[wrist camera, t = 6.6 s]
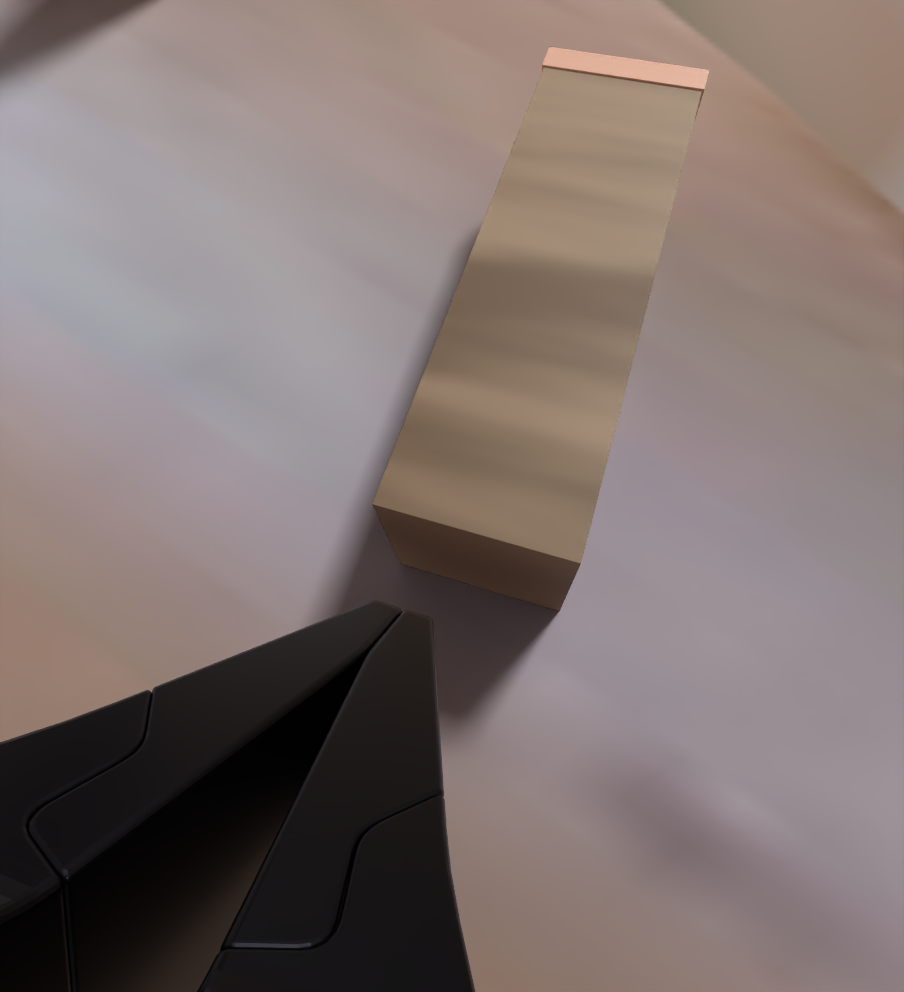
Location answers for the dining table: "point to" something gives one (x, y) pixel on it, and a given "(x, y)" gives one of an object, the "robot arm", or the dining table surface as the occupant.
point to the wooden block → (542, 332)
